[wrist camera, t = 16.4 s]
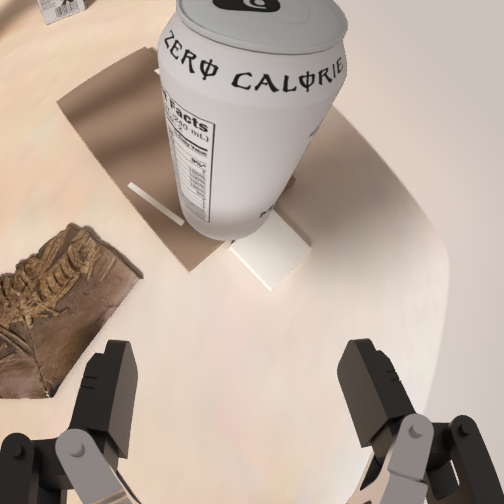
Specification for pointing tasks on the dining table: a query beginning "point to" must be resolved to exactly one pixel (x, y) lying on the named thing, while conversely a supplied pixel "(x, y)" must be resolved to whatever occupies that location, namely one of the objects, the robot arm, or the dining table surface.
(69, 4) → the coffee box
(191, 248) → the walnut board
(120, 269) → the wooden fragment
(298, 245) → the white square tile
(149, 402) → the dining table surface
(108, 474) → the robot arm
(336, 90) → the energy drink can
